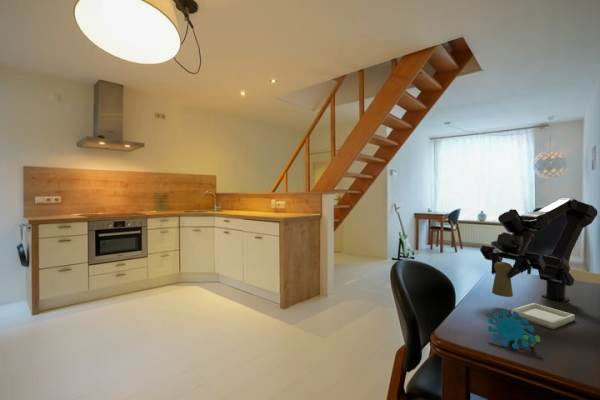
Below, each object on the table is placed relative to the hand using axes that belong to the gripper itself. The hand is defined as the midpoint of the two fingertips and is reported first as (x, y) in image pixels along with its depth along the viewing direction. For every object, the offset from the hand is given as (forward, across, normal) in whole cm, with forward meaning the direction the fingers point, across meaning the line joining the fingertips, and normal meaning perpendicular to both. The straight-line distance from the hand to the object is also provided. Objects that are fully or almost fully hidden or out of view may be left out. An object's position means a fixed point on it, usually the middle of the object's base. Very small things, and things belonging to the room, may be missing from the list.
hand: (500, 275), depth 101 cm
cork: (+4, 0, +6) cm, 7 cm away
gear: (+25, +16, -9) cm, 31 cm away
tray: (+6, +11, +10) cm, 16 cm away
